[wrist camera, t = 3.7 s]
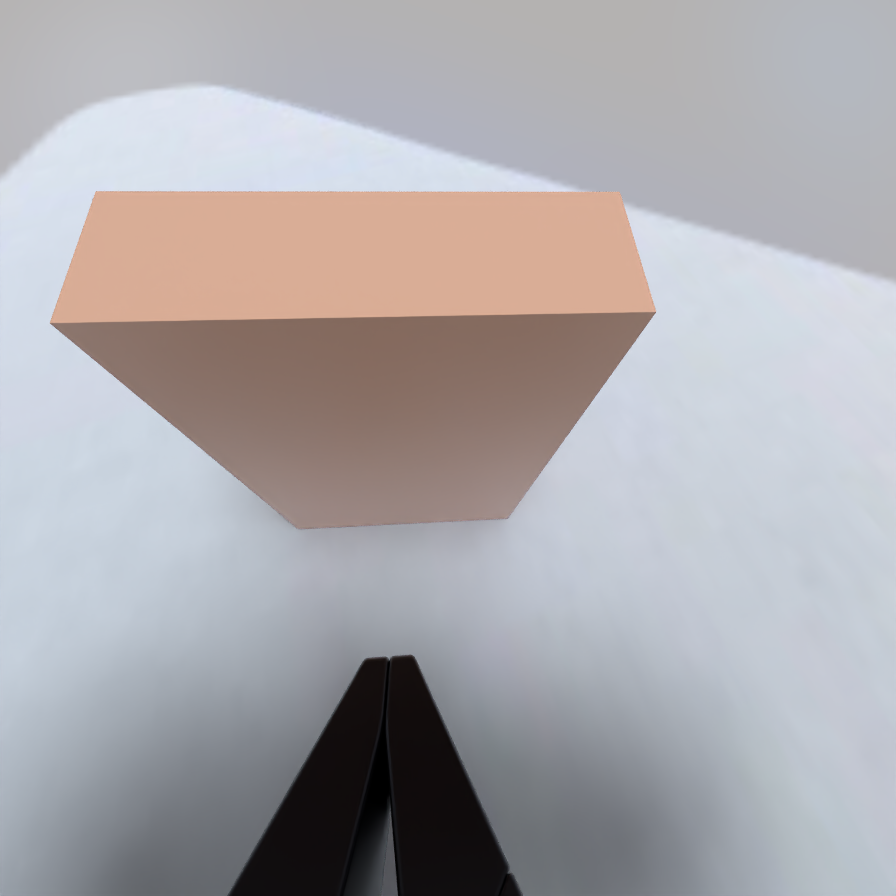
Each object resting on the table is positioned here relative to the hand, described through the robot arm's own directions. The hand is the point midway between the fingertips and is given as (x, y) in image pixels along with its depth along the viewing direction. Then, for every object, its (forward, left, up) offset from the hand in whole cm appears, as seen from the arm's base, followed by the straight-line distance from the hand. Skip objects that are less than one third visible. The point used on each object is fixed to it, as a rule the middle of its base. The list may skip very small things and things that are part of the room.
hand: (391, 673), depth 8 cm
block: (+4, +4, -8) cm, 10 cm away
